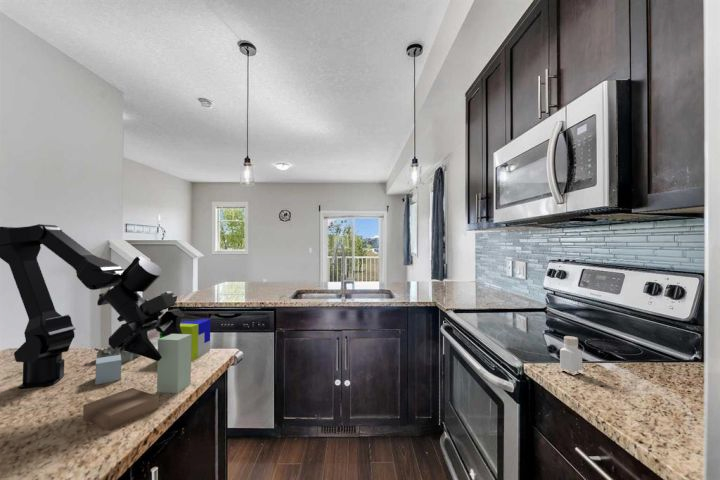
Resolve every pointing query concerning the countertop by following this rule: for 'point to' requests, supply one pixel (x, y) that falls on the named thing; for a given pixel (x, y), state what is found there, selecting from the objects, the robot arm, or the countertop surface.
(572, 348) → the salt shaker
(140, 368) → the countertop surface
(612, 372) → the countertop surface
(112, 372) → the slate painted cube
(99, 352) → the egg carton
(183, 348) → the sage pillar block
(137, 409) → the walnut base block
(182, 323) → the puzzle toy
